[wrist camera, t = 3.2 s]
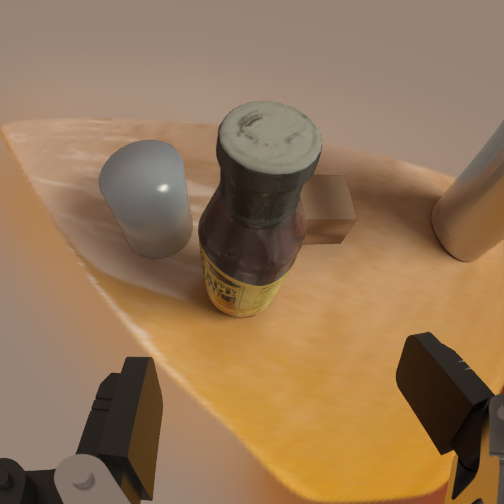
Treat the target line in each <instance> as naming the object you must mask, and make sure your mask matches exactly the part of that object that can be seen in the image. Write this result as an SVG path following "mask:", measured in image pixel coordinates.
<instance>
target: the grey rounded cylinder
mask: <svg viewBox="0 0 504 504" xmlns="http://www.w3.org/2000/svg"><path fill="white" fill-rule="evenodd" d="M99 186H100V190H101V193H102V195H103V196H104V198H105V200H106V202H107V204H108V206H109V208H110V210H111V212H112V213H113V215H114V217H115V219H116V221H117V223H118V224H119V226H120V228H121V230H122V232H123V233H124V235H125V237H126V239H127V240H128V242H129V244H130V246H131V247H132V248H133V250H134V251H136V252H137V253H138V254H140V255H142V256H144V257H147V258H152V259H160V258H165V257H169V256H171V255H173V254H175V253H177V252H178V251H180V250H181V249H182V248H183V247H184V246H185V245H186V244H187V242H188V241H189V239H190V237H191V234H192V230H193V221H192V215H191V209H190V203H189V197H188V191H187V184H186V178H185V171H184V165H183V160H182V157H181V155H180V153H179V152H178V151H177V150H176V149H175V148H174V147H173V146H171V145H170V144H167V143H165V142H162V141H157V140H143V141H138V142H134V143H131V144H129V145H126V146H124V147H123V148H121V149H119V150H118V151H116V152H115V153H114V154H113V155H112V156H111V157H110V158H109V159H108V160H107V161H106V163H105V164H104V166H103V168H102V170H101V173H100V177H99Z"/></svg>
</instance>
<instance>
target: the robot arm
mask: <svg viewBox="0 0 504 504" xmlns="http://www.w3.org/2000/svg"><path fill="white" fill-rule="evenodd" d="M431 218H432V225H433V229H434V231H435V234H436V236H437V238H438V239H439V241H440V243H441V244H442V245H443V247H444V248H445V249H446V250H447V251H448V252H449V253H450V254H451V255H452V256H454V257H455V258H457V259H459V260H461V261H465V262H471V261H474V260H476V259H478V258H479V257H481V256H482V255H483V254H485V253H486V252H487V251H489V250H490V249H492V248H493V247H494V246H496V245H497V244H498V243H500V242H501V241H502V240H503V239H504V120H503V122H502V123H501V124H500V125H499V127H498V128H497V129H496V131H495V133H494V134H493V135H492V136H491V138H490V139H489V140H488V142H487V143H486V144H485V145H484V146H483V148H482V149H481V150H480V152H479V153H478V154H477V155H476V157H475V158H474V159H473V160H472V162H471V163H470V164H469V165H468V166H467V168H466V169H465V170H464V171H463V172H462V174H461V175H460V176H459V177H458V178H457V179H456V181H455V182H454V183H453V184H452V185H451V186H450V187H449V189H448V190H447V191H446V192H445V193H444V194H443V196H442V197H441V198H440V199H439V200H438V201H437V202H436V204H435V205H434V207H433V209H432V214H431ZM396 382H397V386H398V388H399V389H400V391H401V393H402V394H403V396H404V397H405V399H406V400H407V402H408V403H409V405H410V406H411V408H412V410H413V411H414V413H415V414H416V416H417V417H418V419H419V421H420V422H421V424H422V425H423V427H424V428H425V430H426V432H427V433H428V435H429V436H430V438H431V440H432V441H433V443H434V445H435V446H436V448H437V449H438V451H439V453H440V454H441V455H443V454H446V453H448V452H450V451H452V450H454V451H455V452H456V455H455V456H454V458H453V461H452V466H451V472H450V478H449V483H448V489H447V494H446V498H445V502H444V504H504V394H499V395H496V396H495V395H494V394H493V392H492V391H491V390H490V389H489V388H488V387H487V386H486V384H485V383H484V382H483V381H482V380H481V379H480V378H479V377H478V376H477V375H476V373H475V372H474V371H473V370H472V369H470V367H469V366H468V365H467V364H466V363H465V362H463V359H462V358H461V357H460V356H459V355H458V354H457V353H456V352H455V351H454V350H452V349H451V348H449V347H447V346H446V345H444V344H441V343H440V341H439V340H438V339H437V338H436V337H435V336H434V335H433V334H432V333H430V332H425V333H420V334H415V335H410V336H408V338H407V339H406V341H405V345H404V348H403V351H402V355H401V358H400V361H399V364H398V367H397V371H396ZM162 412H163V401H162V394H161V390H160V386H159V382H158V377H157V373H156V369H155V364H154V361H153V358H152V357H127V358H126V359H125V362H124V365H123V368H122V371H121V373H111V374H110V375H109V376H108V377H107V378H106V379H105V380H104V381H103V382H102V383H101V384H100V386H99V389H98V392H97V394H96V400H94V402H93V405H92V411H90V414H89V417H88V419H87V422H86V425H85V428H84V431H83V434H82V437H81V440H80V443H79V446H78V449H77V452H76V454H75V455H73V456H70V457H68V458H66V459H64V460H63V461H62V462H61V463H60V464H59V465H58V467H57V468H56V469H52V470H38V471H24V470H23V468H22V467H21V466H20V465H19V464H18V463H17V462H16V461H14V460H11V459H8V458H0V504H140V501H141V500H150V501H152V499H153V489H154V479H155V469H156V461H157V452H158V442H159V435H160V427H161V420H162Z"/></svg>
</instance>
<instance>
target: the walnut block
mask: <svg viewBox="0 0 504 504" xmlns="http://www.w3.org/2000/svg"><path fill="white" fill-rule="evenodd" d="M300 201H301V203H302V205H303V209H304V212H305V217H306V232H305V238H304V240H303V243H302V245H305V244H339V243H341V242H342V241H343V239H344V238H345V236H346V235H347V233H348V232H349V230H350V229H351V227H352V226H353V224H354V223H355V221H356V220H357V218H356V214H355V210H354V206H353V202H352V199H351V195H350V191H349V188H348V184H347V181H346V177H345V176H338V175H312V176H311V177H310V179H309V180H308V181H307V182H306V183H305V184H304V185H303V187H302V190H301V193H300Z"/></svg>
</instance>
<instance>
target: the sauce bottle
mask: <svg viewBox="0 0 504 504" xmlns="http://www.w3.org/2000/svg"><path fill="white" fill-rule="evenodd" d="M321 149H322V139H321V135H320V132H319V130H318V129H317V128H316V126H315V125H314V124H313V122H312V121H311V120H310V119H309V117H308V116H307V115H305V114H304V113H302V112H301V111H299V110H297V109H296V108H294V107H291V106H287V105H284V104H281V103H277V102H272V101H258V102H250V103H247V104H244V105H241V106H239V107H237V108H235V109H233V110H232V111H231V112H230V113H229V114H228V115H227V116H226V117H225V119H224V120H223V121H222V123H221V124H220V126H219V130H218V138H217V146H216V155H217V159H218V162H219V165H220V167H221V170H220V171H221V176H220V177H221V179H220V183H219V186H218V188H217V190H216V191H215V193H214V195H213V197H212V198H211V200H210V202H209V204H208V205H207V207H206V209H205V211H204V212H203V214H202V216H201V218H200V221H199V226H198V235H199V244H200V250H201V251H200V252H201V259H202V264H203V273H204V277H205V284H206V289H207V293H208V295H209V298H210V300H211V301H212V303H213V304H214V305H215V306H216V307H217V308H218V309H219V310H221V311H222V312H223V313H224V314H225V315H229V316H233V317H238V318H239V317H241V318H245V317H252V316H254V315H256V314H258V313H260V312H261V311H263V310H265V309H266V308H267V307H268V305H269V304H270V303H271V301H272V300H273V298H274V297H275V295H276V293H277V291H278V290H279V288H280V286H281V285H282V283H283V281H284V280H285V278H286V276H287V274H288V273H289V271H290V269H291V267H292V266H293V264H294V262H295V259H296V256H297V254H298V252H299V251H300V248H301V246H302V243H303V240H304V238H305V232H306V217H305V212H304V209H303V205H302V203H301V201H300V193H301V190H302V187H303V185H304V184H305V183H306V182H307V181H308V180H309V179H310V177H311V176H312V175H313V173H314V171H315V168H316V166H317V163H318V160H319V157H320V154H321Z"/></svg>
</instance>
